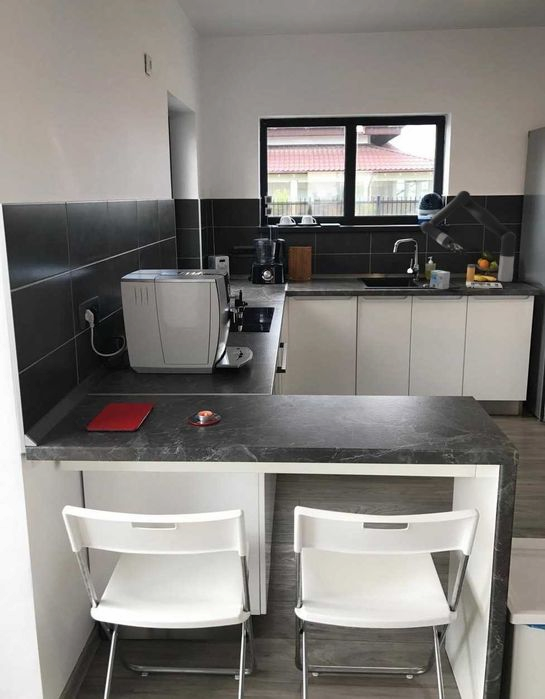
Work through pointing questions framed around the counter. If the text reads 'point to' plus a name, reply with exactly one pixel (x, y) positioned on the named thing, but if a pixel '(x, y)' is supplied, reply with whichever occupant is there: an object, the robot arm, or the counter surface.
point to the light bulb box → (439, 279)
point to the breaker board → (483, 285)
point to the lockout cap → (470, 273)
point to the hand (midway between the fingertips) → (463, 253)
